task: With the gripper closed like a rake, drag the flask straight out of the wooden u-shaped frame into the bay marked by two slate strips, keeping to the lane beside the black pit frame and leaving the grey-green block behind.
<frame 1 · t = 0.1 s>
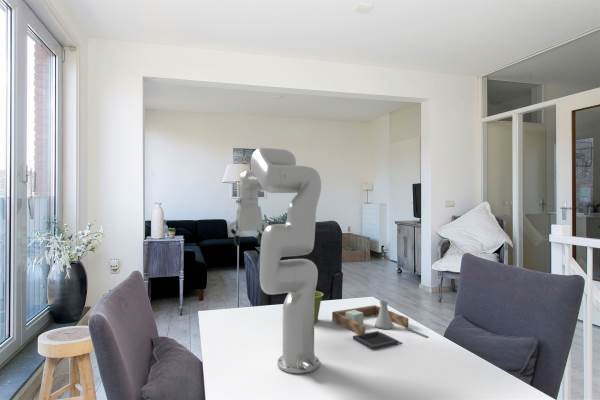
hand: (248, 244, 152), 31 cm above the table, fingers open, 9 cm apart
pit frame: (375, 341, 131), on the table
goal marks: (403, 335, 136), on the table
flask: (383, 327, 146), on the table
grey green block: (354, 325, 148), on the table
plant pot: (308, 321, 153), on the table
wooden u-shaped frame: (369, 323, 149), on the table
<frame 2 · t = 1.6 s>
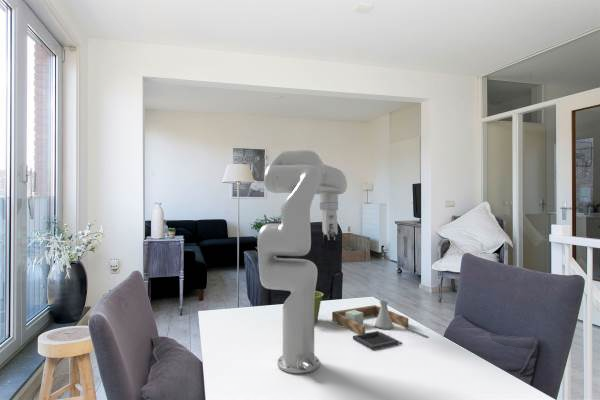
hand: (329, 248, 154), 30 cm above the table, fingers open, 9 cm apart
nothing on the table moved.
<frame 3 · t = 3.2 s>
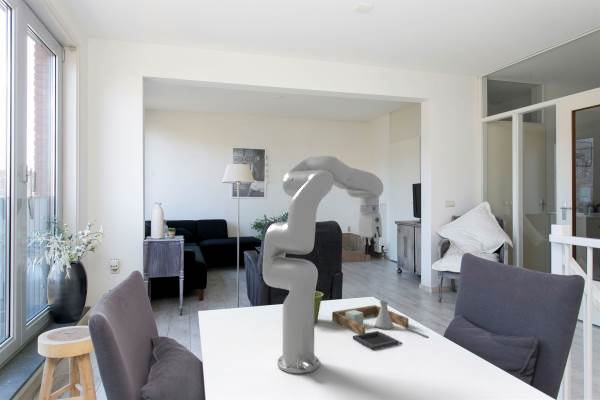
hand: (369, 254, 154), 27 cm above the table, fingers closed
nothing on the table moved.
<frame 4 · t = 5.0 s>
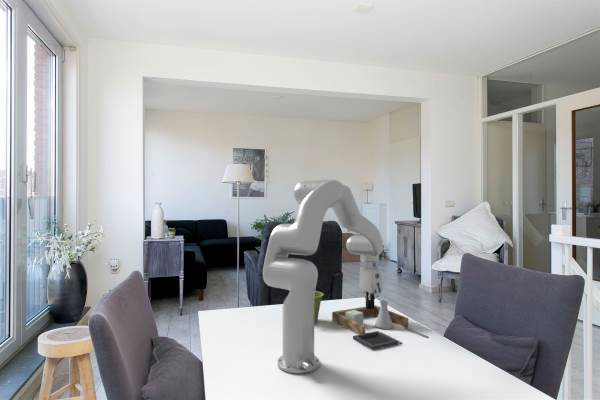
hand: (370, 308, 155), 5 cm above the table, fingers closed
nothing on the table moved.
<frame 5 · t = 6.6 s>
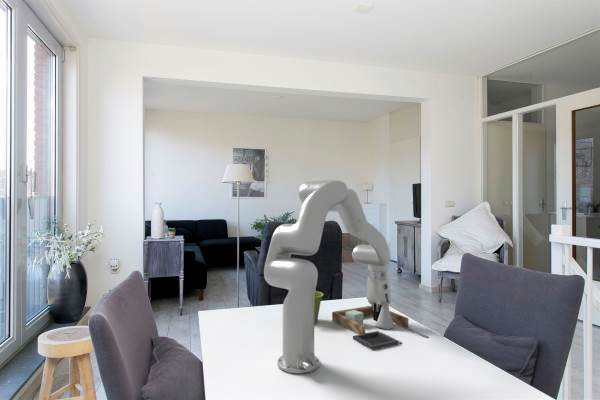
hand: (377, 320, 150), 1 cm above the table, fingers closed
flask: (384, 327, 146), on the table, touching gripper
everything else where it was.
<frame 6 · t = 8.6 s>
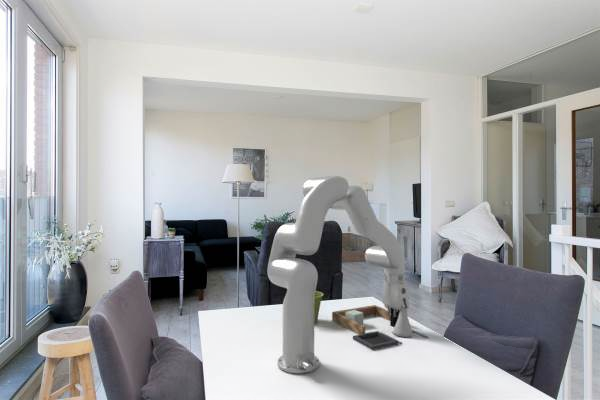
hand: (395, 325, 142), 2 cm above the table, fingers closed
flask: (402, 334, 138), on the table, touching gripper
everything else where it was.
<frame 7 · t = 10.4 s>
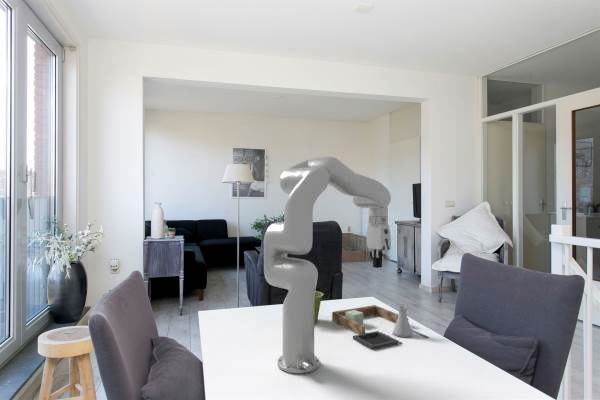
hand: (377, 267, 148), 23 cm above the table, fingers closed
flask: (402, 334, 138), on the table
everything else where it was.
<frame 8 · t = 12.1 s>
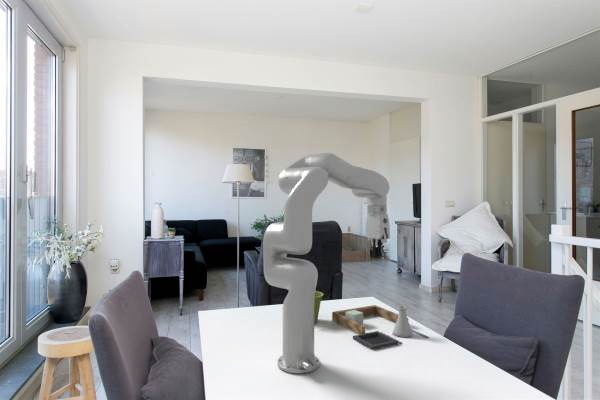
hand: (376, 256, 148), 27 cm above the table, fingers closed
nothing on the table moved.
at the end: flask inside the target area (1.3 cm from its centre), on the table; flask tilted 0°; grey green block moved 0.1 cm from its start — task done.
